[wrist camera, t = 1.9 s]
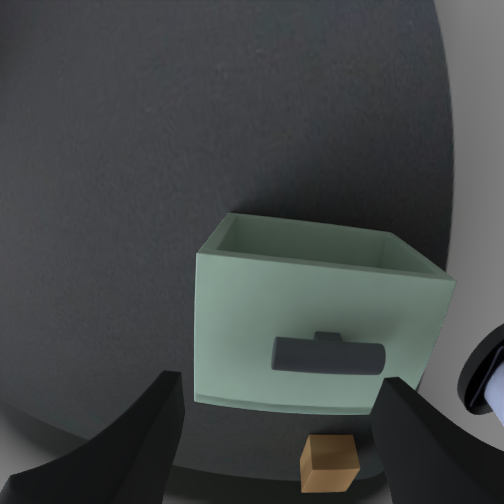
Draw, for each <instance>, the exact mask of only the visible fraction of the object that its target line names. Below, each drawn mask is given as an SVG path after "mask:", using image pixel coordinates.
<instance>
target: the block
mask: <svg viewBox="0 0 504 504" xmlns="http://www.w3.org/2000/svg"><path fill="white" fill-rule="evenodd" d="M300 467H301V487H302V488H301V489H302V492H340V491H346V490H347V488H348V487H349V485H350V484H351V482H352V481H353V479H354V478H355V476H356V474H357V473H358V471H359V470H360V465H359V460H358V456H357V451H356V447H355V442H354V438H353V435H309V436H308V439H307V442H306V445H305V448H304V450H303V453H302V456H301V458H300Z"/></svg>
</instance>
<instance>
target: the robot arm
mask: <svg viewBox="0 0 504 504" xmlns="http://www.w3.org/2000/svg"><path fill="white" fill-rule="evenodd" d="M488 404H489V405H490V407H491V408H492V410H493V411H494V412H495V414H496V415H497V417H498V419H499V420H500V422H501V423H502V425H503V426H504V346H501V347H500V348H499V349H498V350H497V353H496V355H495V357H494V359H493V361H492V363H491V365H490V367H489V369H488V371H487V373H486V375H485V377H484V379H483V381H482V383H481V385H480V387H479V389H478V390H477V392H476V394H475V396H474V398H473V399H472V401H471V403H470V406H471V407H478V406H483V405H488ZM184 415H185V407H184V397H183V387H182V377H181V372H173V371H165V370H164V371H163V372H161V373H160V375H159V376H158V377H157V378H156V379H155V380H154V382H153V383H152V384H151V385H150V386H149V387H148V388H147V389H146V391H145V392H144V393H143V394H142V395H141V396H140V397H139V398H138V399H137V400H136V401H135V402H134V403H133V404H132V405H131V406H130V407H129V408H128V409H127V410H126V411H125V412H124V413H123V414H122V415H120V416H119V417H118V418H117V419H116V420H115V421H114V422H113V423H111V424H110V425H109V426H108V427H106V428H105V429H104V430H103V431H101V432H100V433H99V434H97V435H96V436H95V437H93V438H92V439H90V440H89V441H87V442H86V443H84V444H83V445H81V446H79V447H78V448H76V449H75V450H73V451H71V452H69V453H67V454H66V455H63V456H61V457H59V458H57V459H55V460H53V461H51V462H49V463H46V464H44V465H41V466H39V467H36V468H33V469H30V470H27V471H24V472H21V473H17V474H14V475H11V476H10V477H9V479H8V480H7V482H6V483H5V485H4V487H3V489H2V491H1V493H0V504H162V501H163V495H164V490H165V487H166V483H167V480H168V476H169V473H170V469H171V467H172V463H173V460H174V457H175V454H176V450H177V447H178V444H179V441H180V437H181V433H182V427H183V421H184ZM369 417H370V422H371V428H372V433H373V438H374V441H375V444H376V447H377V450H378V453H379V456H380V459H381V462H382V465H383V468H384V471H385V474H386V477H387V480H388V483H389V487H390V491H391V496H392V502H393V504H504V451H502V450H499V449H497V448H495V447H493V446H491V445H489V444H486V443H485V442H483V441H481V440H479V439H477V438H476V437H474V436H472V435H471V434H469V433H467V432H466V431H464V430H463V429H461V428H460V427H459V426H457V425H456V424H454V423H453V422H452V421H450V420H449V419H448V418H446V417H445V416H444V415H443V414H442V413H440V412H439V411H438V410H437V409H436V408H434V407H433V406H432V405H431V404H430V403H428V402H427V401H426V400H425V399H424V398H423V397H422V396H420V394H418V393H417V392H416V391H415V390H414V389H413V388H412V387H411V386H409V385H408V384H407V383H406V382H405V381H404V380H402V379H401V378H400V377H386V378H384V380H383V382H382V385H381V388H380V390H379V393H378V395H377V398H376V400H375V403H374V405H373V408H372V410H371V412H370V415H369Z"/></svg>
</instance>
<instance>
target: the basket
mask: <svg viewBox="0 0 504 504" xmlns="http://www.w3.org/2000/svg"><path fill="white" fill-rule="evenodd" d="M455 285H456V280H455V279H453V278H452V277H451V276H449V275H448V274H447V273H445V272H444V271H443V270H442V269H440V268H439V267H438V266H436V265H435V264H434V263H432V262H431V261H430V260H428V259H427V258H426V257H424V256H423V255H422V254H420V253H419V252H418V251H416V250H415V249H414V248H412V247H411V246H410V245H408V244H407V243H405V242H404V241H403V240H401V239H400V238H398V237H397V236H396V235H394V234H393V233H391V232H385V231H378V230H370V229H363V228H356V227H349V226H341V225H333V224H325V223H318V222H309V221H301V220H293V219H284V218H275V217H267V216H257V215H248V214H238V213H228V214H227V215H226V216H225V218H224V219H223V220H222V222H221V223H220V224H219V225H218V227H217V228H216V229H215V231H214V232H213V233H212V234H211V236H210V237H209V238H208V240H207V241H206V242H205V244H204V245H203V246H202V247H201V249H200V250H199V251H198V252H197V258H196V284H195V324H194V400H195V402H201V403H207V404H214V405H221V406H228V407H236V408H244V409H253V410H263V411H274V412H288V413H305V414H343V415H351V414H370V412H371V410H372V408H373V405H374V403H375V400H376V398H377V395H378V393H379V390H380V388H381V385H382V382H383V380H384V378H386V377H400V378H401V379H402V380H404V381H405V382H406V383H407V384H408V385H409V386H411V387H412V388H413V389H414V390H415V389H416V387H417V385H418V383H419V381H420V379H421V377H422V374H423V372H424V370H425V367H426V365H427V363H428V360H429V358H430V356H431V353H432V351H433V348H434V346H435V343H436V341H437V338H438V335H439V333H440V330H441V327H442V324H443V322H444V319H445V316H446V313H447V310H448V307H449V304H450V301H451V298H452V295H453V291H454V288H455Z"/></svg>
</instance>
